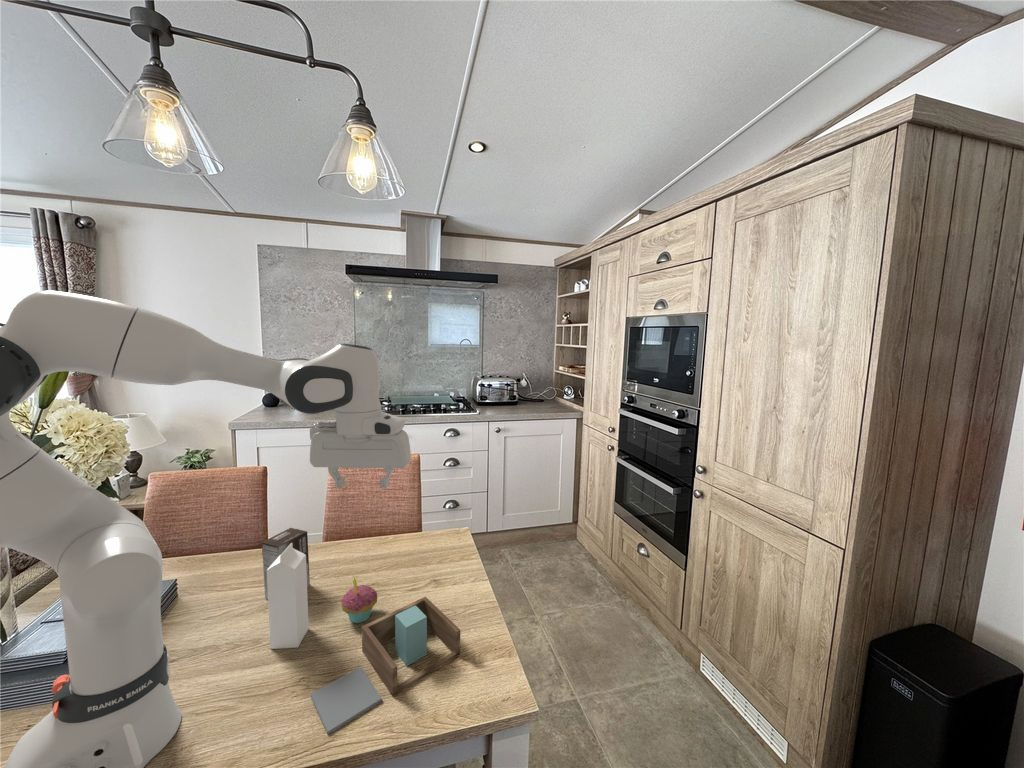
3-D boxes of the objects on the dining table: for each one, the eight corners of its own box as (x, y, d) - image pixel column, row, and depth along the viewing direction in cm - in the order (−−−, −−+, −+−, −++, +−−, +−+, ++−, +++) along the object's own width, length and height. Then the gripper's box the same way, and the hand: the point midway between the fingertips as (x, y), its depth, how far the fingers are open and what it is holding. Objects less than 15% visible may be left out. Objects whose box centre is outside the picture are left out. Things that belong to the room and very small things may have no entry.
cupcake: (365, 631, 95) (364, 584, 94) (333, 625, 97) (332, 579, 95) (383, 607, 103) (383, 564, 102) (354, 602, 105) (353, 559, 104)
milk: (270, 649, 89) (264, 556, 86) (282, 629, 95) (277, 542, 92) (298, 647, 90) (294, 555, 87) (309, 628, 96) (305, 541, 93)
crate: (392, 696, 78) (392, 668, 77) (362, 651, 89) (361, 626, 88) (460, 654, 89) (460, 629, 88) (425, 618, 100) (425, 596, 99)
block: (406, 666, 85) (405, 627, 84) (395, 652, 89) (395, 615, 88) (426, 654, 89) (426, 616, 88) (415, 641, 92) (415, 605, 91)
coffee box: (293, 579, 114) (291, 526, 112) (310, 585, 112) (308, 530, 110) (263, 599, 106) (260, 541, 104) (281, 605, 103) (279, 546, 102)
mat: (327, 734, 70) (327, 731, 70) (310, 696, 78) (310, 693, 78) (381, 701, 77) (381, 698, 77) (361, 668, 84) (361, 666, 84)
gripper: (301, 425, 79) (305, 492, 81) (403, 426, 79) (405, 493, 81) (316, 418, 85) (320, 480, 87) (411, 419, 85) (413, 481, 87)
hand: (362, 486), depth 84 cm, fingers open, 8 cm apart
